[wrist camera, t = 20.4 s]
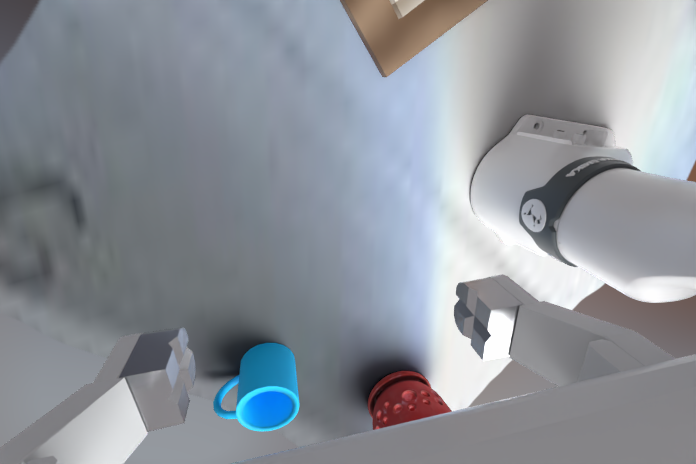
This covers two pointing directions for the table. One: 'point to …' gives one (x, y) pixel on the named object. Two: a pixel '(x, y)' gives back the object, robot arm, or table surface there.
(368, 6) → the socket board
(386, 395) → the plant pot
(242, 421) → the mug
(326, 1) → the table surface
